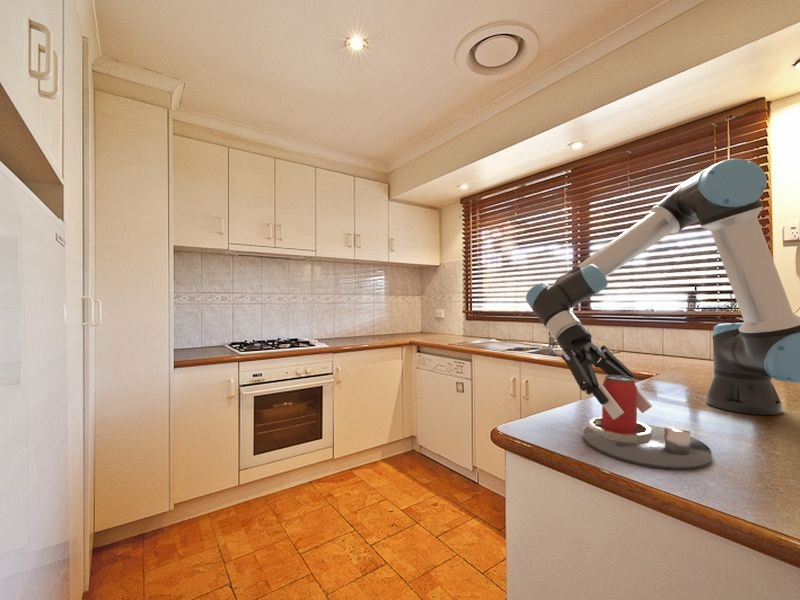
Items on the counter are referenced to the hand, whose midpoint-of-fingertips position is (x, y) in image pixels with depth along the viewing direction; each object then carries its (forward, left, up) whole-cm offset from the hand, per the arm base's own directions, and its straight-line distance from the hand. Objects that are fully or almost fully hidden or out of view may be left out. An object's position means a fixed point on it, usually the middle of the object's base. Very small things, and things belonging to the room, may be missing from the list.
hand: (633, 412), depth 78 cm
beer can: (+2, -3, -5) cm, 6 cm away
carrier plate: (-1, +1, -6) cm, 7 cm away
